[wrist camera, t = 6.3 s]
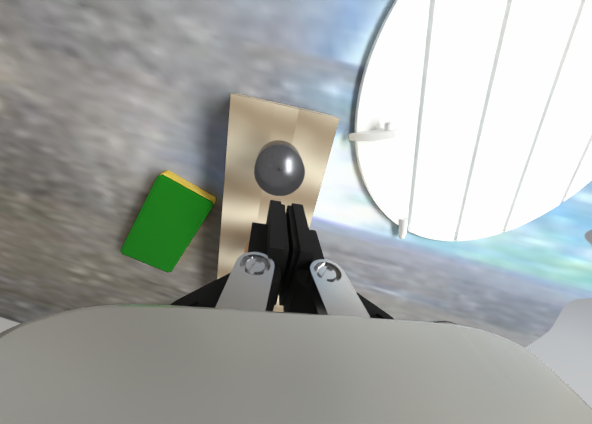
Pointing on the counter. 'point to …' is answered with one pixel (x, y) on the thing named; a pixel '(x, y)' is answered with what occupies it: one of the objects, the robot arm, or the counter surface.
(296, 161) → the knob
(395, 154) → the lazy susan
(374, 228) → the counter surface
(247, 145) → the knob mount
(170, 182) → the dish sponge
